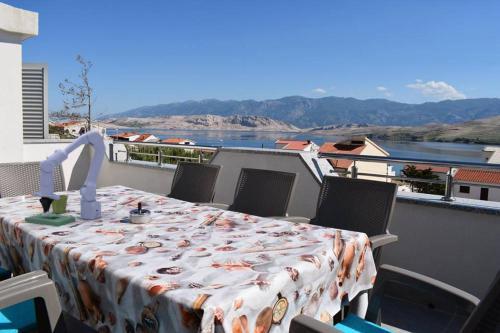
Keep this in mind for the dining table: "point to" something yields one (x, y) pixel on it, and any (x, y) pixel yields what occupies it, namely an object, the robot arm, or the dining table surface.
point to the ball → (46, 214)
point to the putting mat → (50, 219)
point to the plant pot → (60, 204)
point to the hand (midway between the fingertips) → (46, 212)
